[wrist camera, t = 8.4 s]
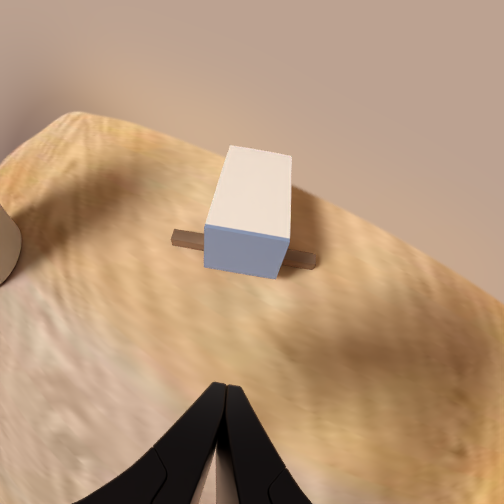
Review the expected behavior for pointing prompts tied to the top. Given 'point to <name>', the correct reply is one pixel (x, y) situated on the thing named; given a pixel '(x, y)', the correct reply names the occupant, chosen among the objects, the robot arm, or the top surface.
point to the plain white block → (250, 214)
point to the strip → (197, 243)
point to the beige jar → (8, 244)
